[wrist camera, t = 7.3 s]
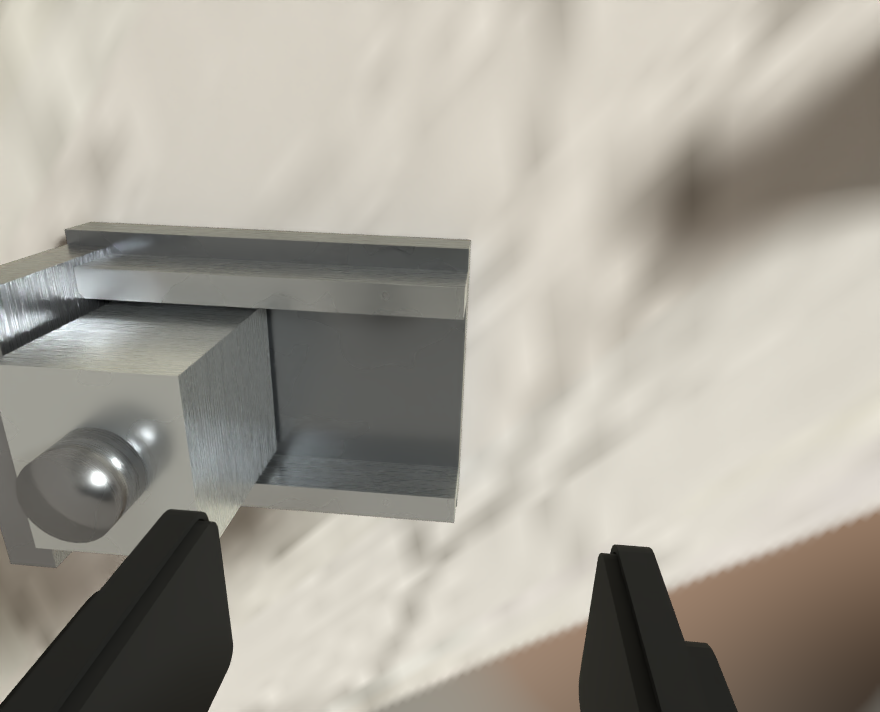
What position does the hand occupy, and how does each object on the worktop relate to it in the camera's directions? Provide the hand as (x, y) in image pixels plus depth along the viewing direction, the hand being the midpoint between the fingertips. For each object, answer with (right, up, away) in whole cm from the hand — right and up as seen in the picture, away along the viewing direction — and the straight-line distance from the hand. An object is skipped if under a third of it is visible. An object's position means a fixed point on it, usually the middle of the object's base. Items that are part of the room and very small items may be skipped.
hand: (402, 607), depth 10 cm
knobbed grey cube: (-6, +3, +8) cm, 11 cm away
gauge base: (-4, +4, +9) cm, 11 cm away
